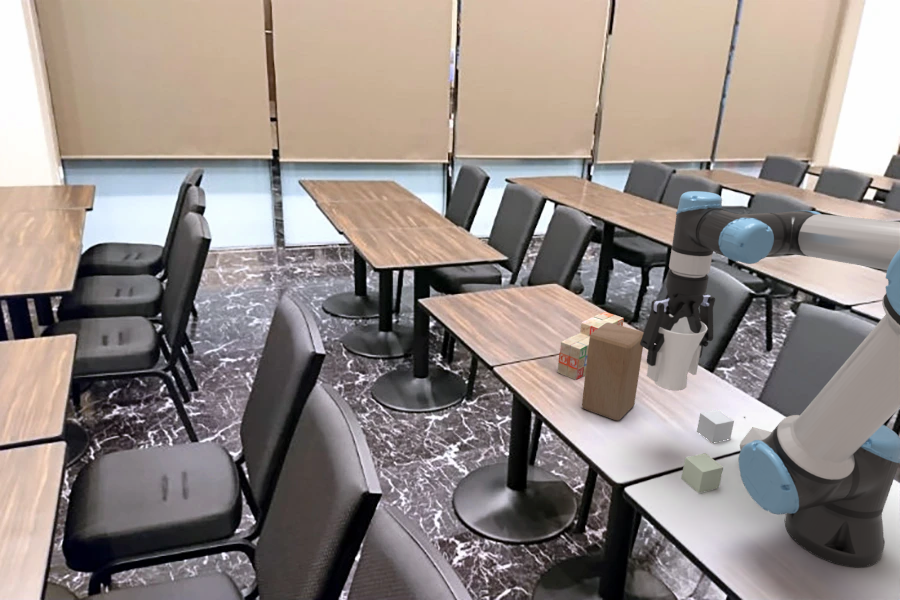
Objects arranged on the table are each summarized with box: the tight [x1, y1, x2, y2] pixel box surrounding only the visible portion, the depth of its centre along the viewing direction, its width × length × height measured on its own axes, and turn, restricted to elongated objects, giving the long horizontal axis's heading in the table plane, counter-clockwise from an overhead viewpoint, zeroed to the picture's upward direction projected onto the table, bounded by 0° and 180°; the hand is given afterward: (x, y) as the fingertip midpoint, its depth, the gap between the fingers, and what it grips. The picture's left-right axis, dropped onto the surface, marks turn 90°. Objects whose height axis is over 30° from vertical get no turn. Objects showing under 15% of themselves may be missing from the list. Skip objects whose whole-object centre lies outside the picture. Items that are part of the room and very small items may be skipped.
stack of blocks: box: [557, 311, 624, 381], centre depth 172 cm, size 21×6×12 cm, turn 135°
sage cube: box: [681, 452, 724, 494], centre depth 125 cm, size 5×5×5 cm
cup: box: [653, 314, 708, 392], centre depth 129 cm, size 10×10×14 cm
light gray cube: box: [696, 409, 735, 444], centre depth 142 cm, size 5×5×5 cm
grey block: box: [739, 426, 773, 451], centre depth 131 cm, size 8×9×10 cm
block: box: [581, 323, 644, 421], centre depth 149 cm, size 10×10×20 cm
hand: (671, 375), depth 131 cm, fingers closed on cup, 9 cm apart
